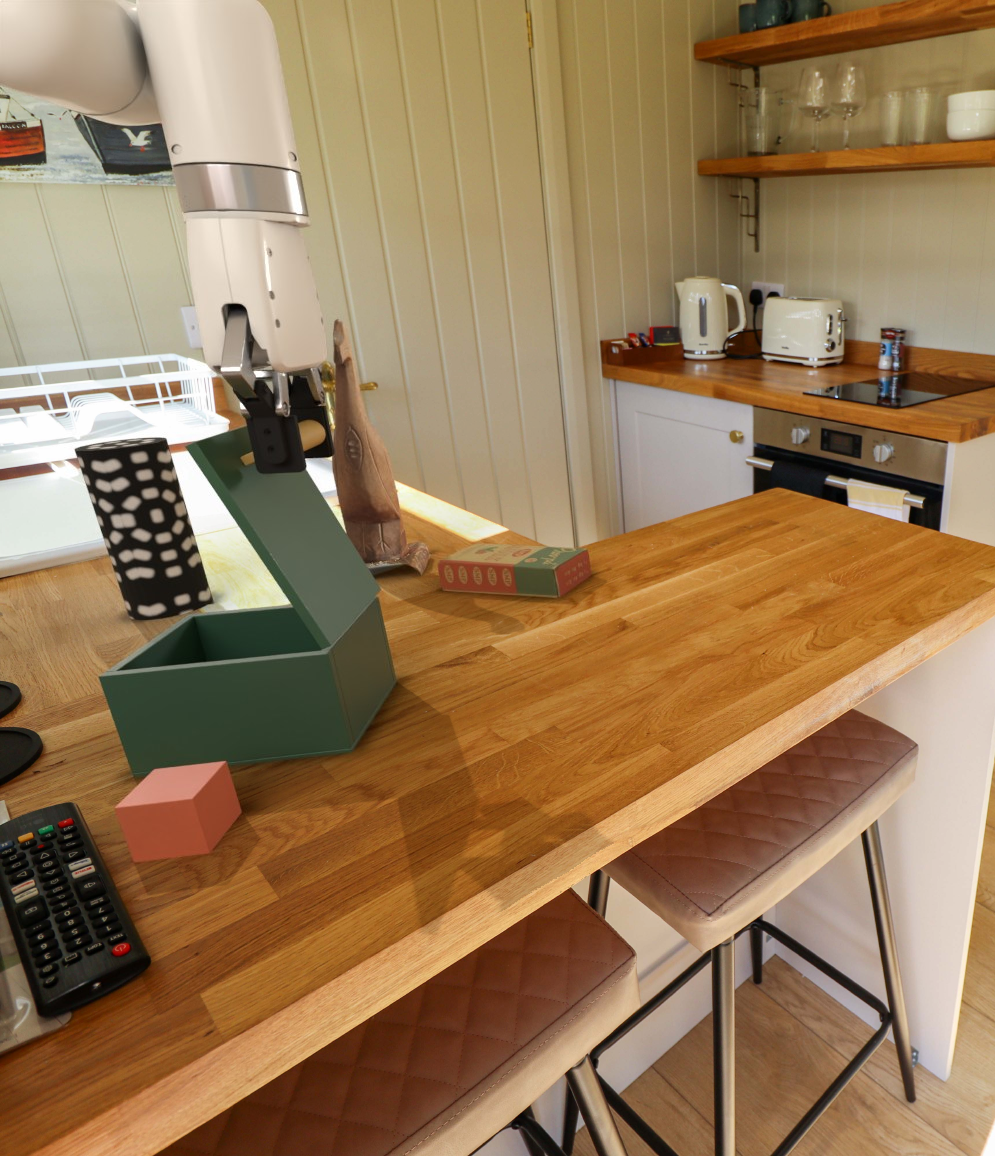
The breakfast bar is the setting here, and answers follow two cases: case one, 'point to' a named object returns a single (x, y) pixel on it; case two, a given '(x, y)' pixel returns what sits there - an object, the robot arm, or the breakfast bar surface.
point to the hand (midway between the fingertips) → (298, 462)
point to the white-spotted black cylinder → (145, 526)
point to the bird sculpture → (366, 473)
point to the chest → (248, 689)
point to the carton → (515, 570)
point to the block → (179, 811)
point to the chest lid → (291, 531)
